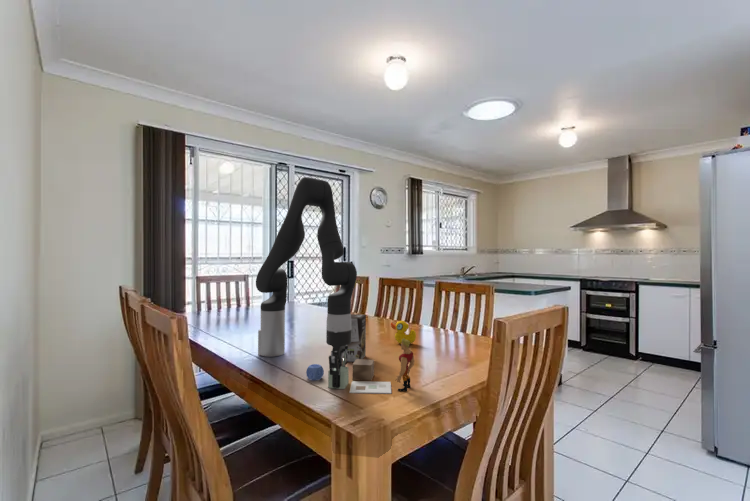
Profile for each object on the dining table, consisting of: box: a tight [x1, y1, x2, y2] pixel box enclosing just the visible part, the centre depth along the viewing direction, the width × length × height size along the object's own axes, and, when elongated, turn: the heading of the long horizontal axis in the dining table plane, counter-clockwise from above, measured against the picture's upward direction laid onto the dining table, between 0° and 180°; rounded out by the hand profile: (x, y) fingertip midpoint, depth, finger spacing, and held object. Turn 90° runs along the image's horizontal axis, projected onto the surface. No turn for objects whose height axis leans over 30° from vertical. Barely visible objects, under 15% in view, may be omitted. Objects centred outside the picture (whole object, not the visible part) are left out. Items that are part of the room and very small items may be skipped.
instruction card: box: [349, 380, 392, 395], centre depth 115 cm, size 12×9×1 cm
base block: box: [351, 358, 375, 382], centre depth 125 cm, size 6×6×5 cm
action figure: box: [395, 338, 415, 392], centre depth 115 cm, size 10×4×15 cm, turn 156°
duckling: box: [390, 320, 417, 345], centre depth 169 cm, size 11×5×10 cm, turn 70°
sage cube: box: [327, 366, 350, 390], centre depth 117 cm, size 5×5×5 cm
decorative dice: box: [305, 363, 324, 381], centre depth 123 cm, size 4×4×4 cm
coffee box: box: [347, 313, 367, 363], centre depth 146 cm, size 9×6×16 cm
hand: (338, 383), depth 117 cm, fingers closed on sage cube, 5 cm apart
